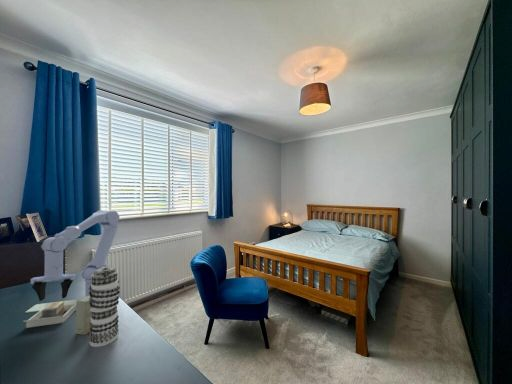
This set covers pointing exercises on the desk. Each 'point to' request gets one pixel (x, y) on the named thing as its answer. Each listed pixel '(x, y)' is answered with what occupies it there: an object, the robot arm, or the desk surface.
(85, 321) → the skincare box
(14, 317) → the desk surface
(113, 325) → the decorative candle
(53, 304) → the block
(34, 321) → the white flat frame
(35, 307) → the pad
